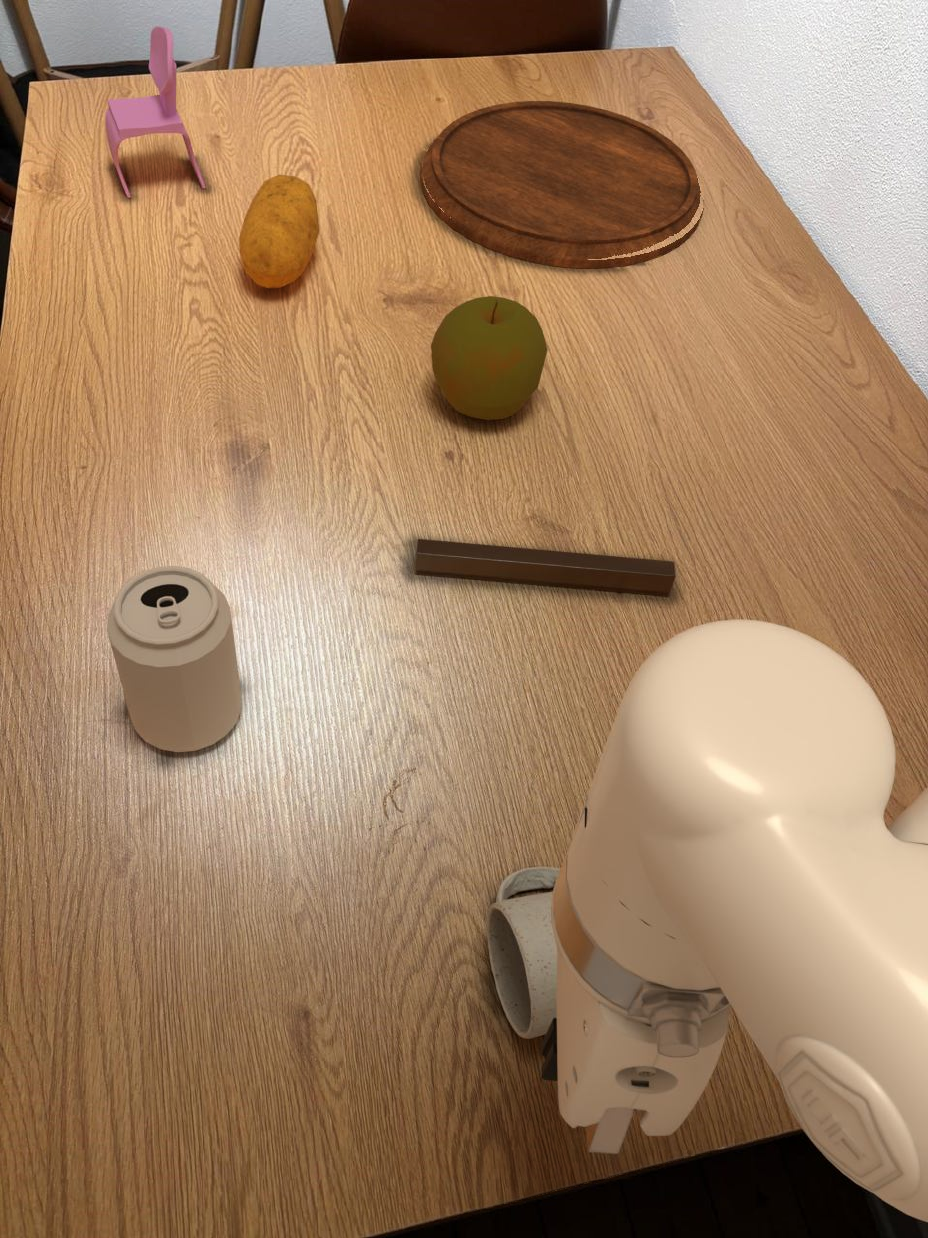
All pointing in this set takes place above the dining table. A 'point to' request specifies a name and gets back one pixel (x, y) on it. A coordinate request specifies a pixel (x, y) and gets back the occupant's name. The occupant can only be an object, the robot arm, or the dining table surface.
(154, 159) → the dining table surface
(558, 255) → the cutting board
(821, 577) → the dining table surface
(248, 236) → the potato
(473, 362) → the apple
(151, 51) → the toy chair
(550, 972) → the ceramic mug
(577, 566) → the back rail
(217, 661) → the can
